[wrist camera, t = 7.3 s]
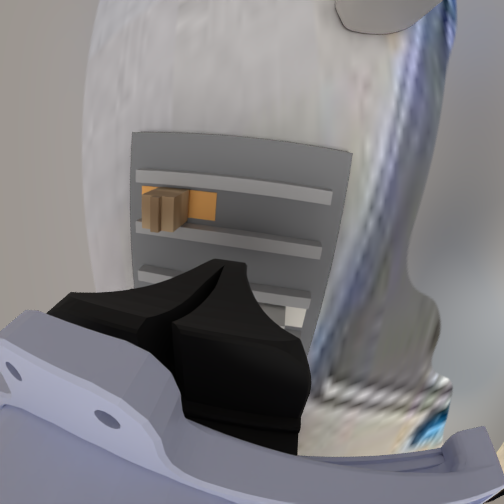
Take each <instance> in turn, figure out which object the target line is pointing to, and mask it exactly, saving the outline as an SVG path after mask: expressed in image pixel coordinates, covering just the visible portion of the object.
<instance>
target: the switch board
mask: <svg viewBox="0 0 504 504" xmlns="http://www.w3.org/2000/svg"><path fill="white" fill-rule="evenodd" d="M352 155H353V153H349V152H344V151H339V150H334V149H328V148H323V147H317V146H311V145H304V144H298V143H291V142H284V141H276V140H268V139H259V138H250V137H240V136H228V135H214V134H197V133H170V132H132V144H131V167H130V227H131V250H132V266H133V279H134V289H135V288H140V287H145V286H149V285H152V284H156V283H159V282H162V281H165V280H168V279H171V278H173V277H175V276H178V275H180V274H182V273H185V272H187V271H189V270H191V269H193V268H195V267H197V266H199V265H201V264H203V263H205V262H207V261H209V260H212V259H215V258H216V259H223V260H230V261H237V262H244V263H246V265H247V278H248V281H249V285H250V287H251V290H252V292H253V294H254V296H255V298H256V300H257V302H261V303H268V304H274V305H281V306H286V311H285V328H284V330H286V331H288V332H289V333H291V334H293V335H294V336H296V337H298V338H299V339H300V340H301V342H302V344H303V347H304V350H305V353H306V357H307V355H308V352H309V348H310V345H311V342H312V338H313V335H314V331H315V328H316V324H317V320H318V317H319V313H320V309H321V305H322V302H323V298H324V294H325V290H326V286H327V282H328V278H329V273H330V269H331V265H332V260H333V256H334V252H335V247H336V242H337V238H338V233H339V228H340V223H341V218H342V213H343V208H344V202H345V197H346V191H347V186H348V180H349V174H350V168H351V161H352ZM158 187H168V188H179V189H189V199H188V220H187V221H186V222H185V223H184V224H183V225H181V226H180V227H179V228H178V229H177V230H175V231H174V232H166V231H160V232H159V233H155V232H150V229H145V228H142V194H144V193H146V192H149V191H151V190H153V189H156V188H158Z"/></svg>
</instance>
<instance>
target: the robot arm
mask: <svg viewBox="0 0 504 504" xmlns="http://www.w3.org/2000/svg"><path fill="white" fill-rule="evenodd" d="M310 389H311V374H310V369H309V364H308V360H307V357H306V353H305V350H304V347H303V344H302V342H301V340H300V339H299V338H298V337H296V336H294V335H293V334H291V333H289V332H288V331H286V330H284V329H283V328H281V327H280V326H279V325H278V324H276V323H275V322H274V321H273V320H272V319H271V318H270V317H269V316H268V315H267V314H266V313H265V312H264V311H263V309H262V308H261V307H260V305H259V303H258V302H257V300H256V298H255V296H254V294H253V292H252V290H251V287H250V285H249V281H248V278H247V265H246V263H244V262H237V261H230V260H223V259H216V258H215V259H212V260H209V261H207V262H205V263H203V264H201V265H199V266H197V267H195V268H193V269H191V270H189V271H187V272H185V273H182V274H180V275H178V276H175V277H173V278H171V279H168V280H165V281H162V282H159V283H156V284H152V285H149V286H145V287H140V288H135V289H129V290H123V291H115V292H102V293H76V292H70V293H69V294H68V295H67V296H66V297H65V298H63V299H62V300H61V301H60V302H59V303H57V304H56V305H55V306H54V307H53V308H52V309H51V310H50V311H48V312H47V313H43V312H41V311H38V310H25V311H24V312H23V313H21V314H20V315H19V316H18V317H17V318H15V319H14V320H13V321H12V322H11V323H9V324H8V325H7V326H6V327H5V328H4V329H2V330H1V331H0V504H482V503H484V502H485V501H487V500H488V499H489V498H491V497H492V496H494V495H495V494H496V493H498V492H499V491H500V490H502V489H503V488H504V474H503V471H502V468H501V465H500V463H499V460H498V457H497V455H496V452H495V449H494V447H493V444H492V442H491V439H490V437H489V435H488V432H487V430H486V428H485V426H481V427H476V428H472V429H467V430H462V431H460V432H457V433H455V434H454V435H452V436H451V437H450V438H449V439H448V440H447V441H446V442H445V443H444V445H443V446H442V447H441V448H437V449H431V450H425V451H418V452H410V453H402V454H392V455H380V456H361V457H316V456H297V450H298V433H299V432H300V428H301V415H302V413H303V410H304V407H305V405H306V402H307V399H308V397H309V394H310Z"/></svg>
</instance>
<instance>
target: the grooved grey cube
mask: <svg viewBox="0 0 504 504" xmlns="http://www.w3.org/2000/svg"><path fill="white" fill-rule="evenodd" d="M258 303H259V305H260V307H261V308H262V309H263V311H264V312H265V313H266V314H267V315H268V316H269V317H270V318H271V319H272V320H273V321H274V322H275V323H276V324H278V325H279V326H280V327H281V328H283V329H284V328H285V311H286V306H281V305H274V304H268V303H261V302H258Z"/></svg>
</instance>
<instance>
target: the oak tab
mask: <svg viewBox="0 0 504 504" xmlns="http://www.w3.org/2000/svg"><path fill="white" fill-rule="evenodd" d="M188 199H189V189H179V188H168V187H158V188H156V189H153V190H151V191H149V192H146V193H144V194H142V228H145V229H150V232H155V233H159V232H160V231H166V232H174V231H175V230H177V229H178V228H179V227H180V226H181V225H183V224H184V223H185V222H186V221H187V220H188Z"/></svg>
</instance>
